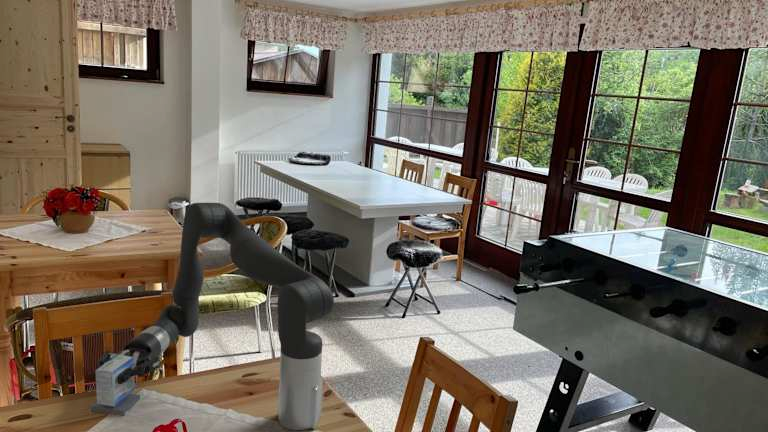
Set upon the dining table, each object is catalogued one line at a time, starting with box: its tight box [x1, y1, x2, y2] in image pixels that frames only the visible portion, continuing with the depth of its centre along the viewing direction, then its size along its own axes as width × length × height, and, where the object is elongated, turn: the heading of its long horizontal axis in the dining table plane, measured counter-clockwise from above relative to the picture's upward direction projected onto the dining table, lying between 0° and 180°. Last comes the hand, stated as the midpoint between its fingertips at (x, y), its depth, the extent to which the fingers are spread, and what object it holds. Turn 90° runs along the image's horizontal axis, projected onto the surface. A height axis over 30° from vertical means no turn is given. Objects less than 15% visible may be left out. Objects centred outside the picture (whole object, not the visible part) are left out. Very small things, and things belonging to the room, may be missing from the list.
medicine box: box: [95, 355, 136, 407], centre depth 136 cm, size 8×4×9 cm, turn 169°
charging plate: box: [90, 393, 141, 416], centre depth 137 cm, size 8×7×1 cm
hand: (108, 378), depth 133 cm, fingers closed on medicine box, 4 cm apart
